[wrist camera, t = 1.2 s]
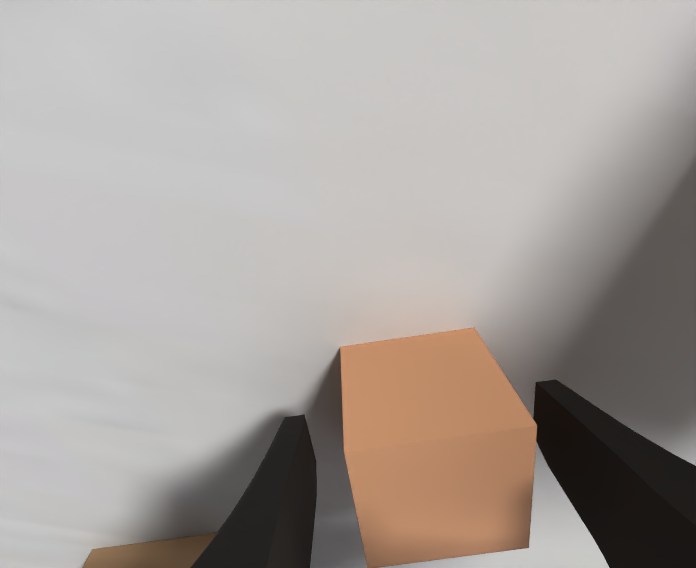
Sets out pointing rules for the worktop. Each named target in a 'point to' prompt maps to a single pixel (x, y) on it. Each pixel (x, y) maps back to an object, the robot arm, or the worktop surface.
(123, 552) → the walnut slab
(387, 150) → the worktop surface
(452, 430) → the terracotta cube
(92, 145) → the worktop surface
